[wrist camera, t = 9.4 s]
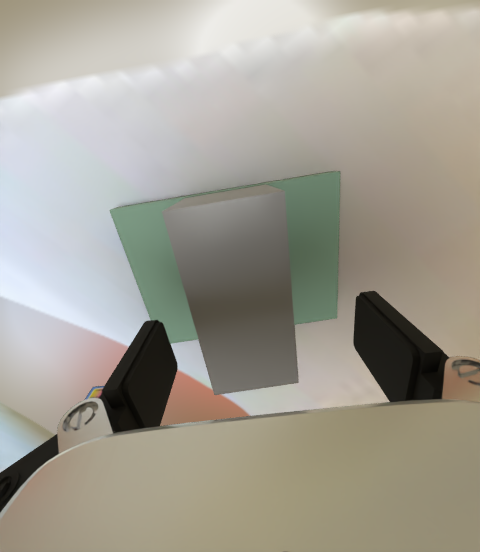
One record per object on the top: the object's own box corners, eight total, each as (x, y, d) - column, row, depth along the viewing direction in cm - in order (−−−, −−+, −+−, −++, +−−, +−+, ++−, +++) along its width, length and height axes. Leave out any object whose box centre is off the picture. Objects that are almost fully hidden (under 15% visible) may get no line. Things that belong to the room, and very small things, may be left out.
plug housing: (184, 198, 16) (161, 211, 11) (267, 184, 16) (288, 190, 10) (218, 336, 21) (214, 395, 15) (281, 326, 21) (300, 382, 15)
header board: (331, 171, 17) (371, 170, 12) (330, 309, 22) (358, 347, 17) (118, 207, 17) (76, 220, 13) (164, 334, 22) (146, 379, 18)
